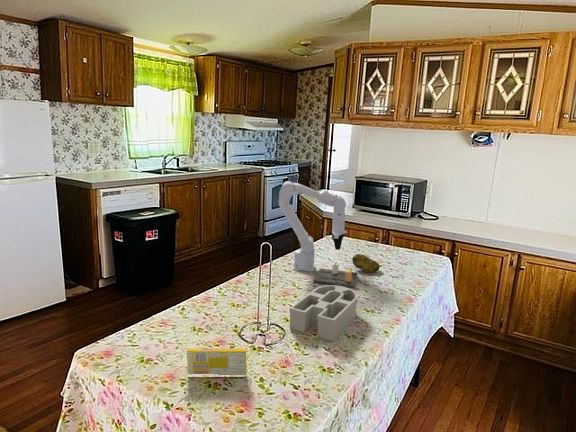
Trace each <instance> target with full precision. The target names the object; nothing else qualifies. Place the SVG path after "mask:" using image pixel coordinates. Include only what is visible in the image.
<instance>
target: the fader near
mask: <svg viewBox="0 0 576 432" xmlns="http://www.w3.org/2000/svg"><path fill="white" fill-rule="evenodd" d="M345 271H346V274H345V281H346V282H351V278H352V272H353V269H349V268H348V269H345Z"/></svg>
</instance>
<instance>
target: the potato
mask: <svg viewBox="0 0 576 432" xmlns="http://www.w3.org/2000/svg"><path fill="white" fill-rule="evenodd" d="M351 261H352V264H353V266H354V267H355V268H356V269H360V270H361V271H362V272H365V273H375V272H378V271H379V270H380V263H378V262H377V261H376V260H374V259H372V258H370V257H368V256H367V255H365V254H362V253H357V254H355V255H354V256H352V258H351Z"/></svg>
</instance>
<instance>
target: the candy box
mask: <svg viewBox="0 0 576 432" xmlns="http://www.w3.org/2000/svg"><path fill="white" fill-rule="evenodd" d="M186 358H187V374H188V373H189V374H214V375H215V374H218V375H246V376H247V348H237V347H236V348H187V351H186Z"/></svg>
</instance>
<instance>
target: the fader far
mask: <svg viewBox="0 0 576 432" xmlns="http://www.w3.org/2000/svg"><path fill="white" fill-rule="evenodd" d="M339 266H340V262H337V261H335V262H334V261H333V263H332V269H331V270H332V274H338V271H340V270H339Z"/></svg>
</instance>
